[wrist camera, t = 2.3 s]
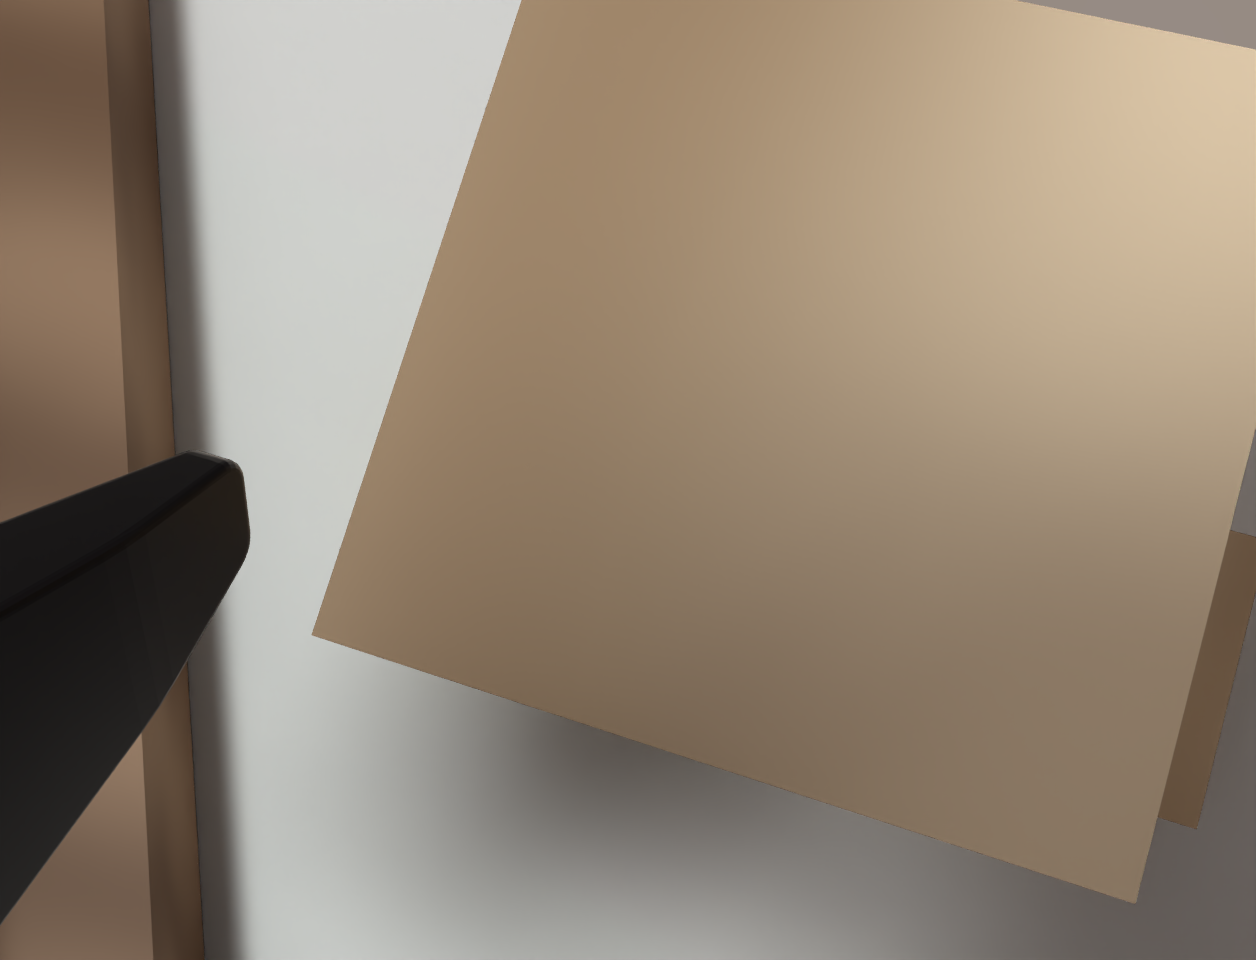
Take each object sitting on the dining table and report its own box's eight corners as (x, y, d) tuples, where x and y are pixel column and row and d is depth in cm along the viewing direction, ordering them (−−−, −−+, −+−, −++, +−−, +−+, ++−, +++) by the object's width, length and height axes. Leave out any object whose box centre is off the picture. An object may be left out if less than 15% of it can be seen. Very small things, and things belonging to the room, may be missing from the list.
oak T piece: (1228, 550, 18) (2354, 275, 5) (1162, 814, 17) (2198, 1253, 5) (478, 344, 20) (-87, -227, 7) (402, 576, 19) (-344, 421, 7)
